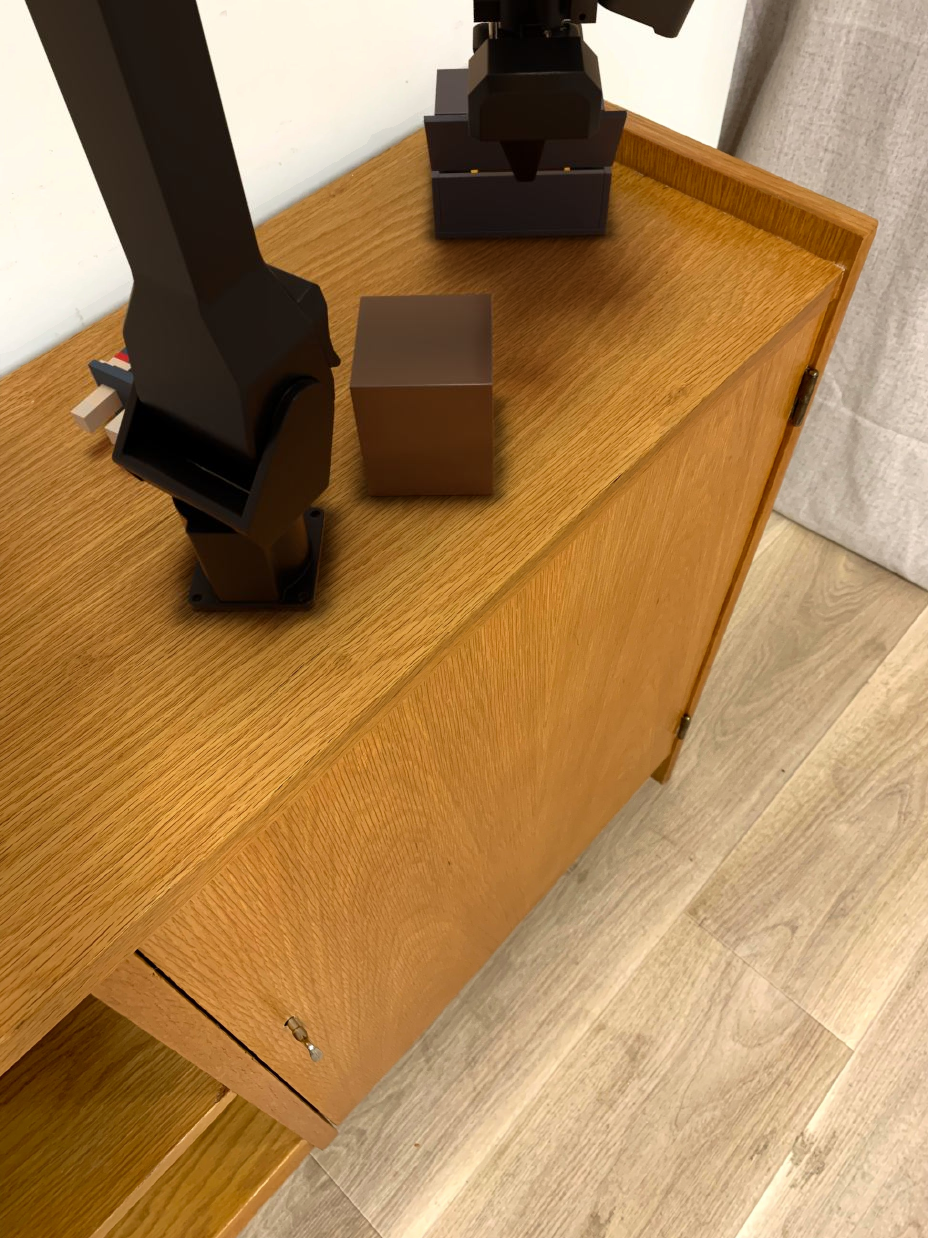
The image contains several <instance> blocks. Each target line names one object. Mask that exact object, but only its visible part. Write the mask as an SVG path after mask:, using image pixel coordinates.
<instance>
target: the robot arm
mask: <svg viewBox="0 0 928 1238" xmlns="http://www.w3.org/2000/svg"><path fill="white" fill-rule="evenodd" d="M695 1H696V0H472V9H473V10H472V12H473V13H472V15H473V24H475V25H474V26H473V27H472V53H473V55H472V56H471V57H469V59H468V66H467V67H468V124H469V136H470V137H472V138H474V139H476V140H478V141H480V142H490V141H499V142H500V144H501V147H502V149H503V151H504V153H505V156H506V158H507V160H508V163H509V165H510V167H511V170H512V172H513V174H514V176H515V179H516V180H517V181H518V182H532V181H534V180H535V178H536V175H537V171H538V168H539V164H540V161H541V157H542V154H543V150H544V147H545V143H546V140H566V139H589V138H590V137H592V136H594V135H595V134H597V133H599V126H600V115H601V104H602V93H603V94H604V92H603V85H602V79H601V77H602V76H601V70H600V64H599V57H598V55H597V54H596V52H594V50H593V49H592V48H591V47H590V46H589V45H588V44H587V42H586V41H585V40H584V31H583V25H586V24H587V25H589V24H596V23H597V17H598V6H601V7H602V8H604V9H605V10H607V11H610V12H611V13H613V14H616V15H618V16H622V17H623V18H627V19H630V20H632V21H634V22H637V23H639V24H642V25H644V26H646V27H649V28H652V29H653V33H654V34H655V35H658V36H659V37H662V38H666V39H675V38H678V37H679V34H680V32H681V30H682V28H683V26H684V24H685V22H686V19H687V17H688V15H689V13H690V10H692V7H693V4H694V2H695ZM24 2H25V5H26V8H27V10H28V12H29V16H30V18H31V20H32V23H33V25H34V28H35V30H36V33H37V35H38V39H39V41H40V43H41V45H42V48H43V50H44V53H45V55H46V58H47V62H48V63H49V66H50V68H51V71H52V74H53V75H54V76H53V77H54V78H55V81H56V83H57V86H58V89H59V91H60V94H61V96H62V98H63V101H64V103H65V106H66V109H67V111H68V114H69V116H70V119H71V121H72V124H73V126H74V129H75V132H76V134H77V137H78V139H79V141H80V145H81V147H82V149H83V152H84V154H85V157H86V159H87V161H88V165H89V167H90V170H91V172H92V175H93V178H94V179H95V182H96V184H97V187H98V190H99V193H100V194H101V198H102V200H103V203H104V206H105V207H106V210H107V213H108V215H109V218H110V220H111V223H112V225H113V228H114V230H115V233H116V235H117V238H118V240H119V243H120V245H121V248H122V250H123V253H124V255H125V258H126V261H127V263H128V265H129V268H130V271H131V272H130V273H131V276H132V280H133V282H132V286H131V289H130V290H131V291H130V294H129V298H128V301H127V306H126V311H125V314H124V318H123V322H122V337H123V341H124V347H126V350H127V354H128V358H129V362H130V366H131V370H132V374H133V378H134V379H133V383H132V386H131V390H130V393H129V397H128V400H127V404H126V407H125V411H124V414H123V418H122V421H121V425H120V428H119V432H118V436H117V439H116V443H115V444H114V446H113V449H112V452H111V461H112V463H114V464H115V465H117V466H118V467H119V468H120V469H122V470H123V471H124V472H126V473H127V474H128V475H130V476H132V477H133V479H136V480H138V481H140V482H142V483H143V482H145V483H147V484H148V485H150V486H152V487H154V488H156V489H157V490H159V491H161V492H163V493H165V494H167V495H168V496H170V497H171V500H172V502H173V506H174V508H175V510H176V512H177V514H178V517H179V518H180V521H181V523H182V525H183V528H184V531H185V534H186V536H187V538H188V540H189V542H190V544H191V547H192V549H193V551H194V553H195V555H196V560H195V565H194V570H193V573H192V578H191V581H190V587H189V592H188V596H187V602H188V604H189V606H190V607H191V609H192V610H194V611H253V610H254V611H267V610H268V611H269V610H273V611H274V610H275V611H277V610H279V611H280V610H284V611H285V610H308V609H310V608H312V607H313V606H314V605H315V602H316V595H317V588H318V581H319V573H320V565H321V559H322V549H323V542H324V533H325V525H326V515H325V511H324V509H323V508H321V507H318V506H312V505H313V504H314V503H315V502H316V501H317V500H318V499H319V498H320V497H321V495H322V494H324V492H326V490H327V489H328V488H329V486H330V479H331V477H330V475H331V463H332V453H333V452H332V450H333V439H334V427H335V425H334V424H335V413H336V412H335V410H336V409H335V408H336V406H335V404H336V388H335V378H334V374H333V370H332V368H337V367H339V366H340V365H341V363H342V360H341V358H340V356H339V355H338V353H337V351H335V349H334V346H333V343H332V340H331V339H332V338H331V335H330V326H329V307H328V303H327V300H326V299H325V295H324V293H323V291H322V289H321V286H320V285H319V284H318V283H316V282H313V281H310V279H309V280H308V279H306V278H303V277H301V276H298V275H296V274H294V273H291V272H289V271H287V270H285V269H282V268H280V267H277V266H275V265H272V264H270V263H267V262H266V261H265V259H264V257H263V254H262V253H261V250H260V247H259V242H258V239H257V235H256V230H255V227H254V224H253V223H254V222H253V218H252V215H251V211H250V208H249V203H248V199H247V195H246V191H245V188H244V184H243V179H242V175H241V172H240V168H239V164H238V159H237V156H236V152H235V148H234V144H233V140H232V136H231V132H230V128H229V124H228V120H227V115H226V112H225V108H224V104H223V101H222V96H221V91H220V88H219V84H218V81H217V77H216V72H215V69H214V65H213V61H212V57H211V53H210V48H209V44H208V41H207V38H206V33H205V29H204V24H203V21H202V17H201V13H200V9H199V6H198V1H197V0H24ZM315 516H316V517H315ZM304 598H307V599H306V600H303V599H304ZM199 599H200V600H199ZM197 600H199V601H197Z"/></svg>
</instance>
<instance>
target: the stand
mask: <svg viewBox="0 0 928 1238" xmlns="http://www.w3.org/2000/svg"><path fill="white" fill-rule="evenodd" d="M493 318H494V317H493V294H492V293H459V294H457V293H456V294H455V293H454V294H450V293H449V294H409V295H406V294H403V295H402V294H401V295H362V296H360V297H359V305H358V313H357V319H356V327H355V329H356V330H355V338H354V345H353V354H352V362H351V370H350V378H349V385H348V387H349V393H350V398H351V403H352V404H351V405H352V409H353V414H354V415H353V416H354V420H355V427H356V431H357V437H358V442H359V447H360V453H361V454H360V455H361V458H362V464H363V470H364V474H365V480H366V486H367V491H368V495H369V496H370V497H379V496H380V497H382V496H384V497H386V496H390V497H391V496H393V497H394V496H462V495H466V496H467V495H469V496H470V495H471V496H472V495H494V493H495V483H494V482H495V477H494V474H495V473H494V472H495V471H494V469H495V468H494V466H495V465H494V463H495V462H494V460H495V459H494V457H495V456H494V455H495V453H494V451H495V450H494V339H493V338H494V337H493V336H494V335H493V333H494V332H493V327H494V325H493V324H494V323H493V321H494V320H493Z"/></svg>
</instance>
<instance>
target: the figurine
mask: <svg viewBox="0 0 928 1238" xmlns="http://www.w3.org/2000/svg"><path fill="white" fill-rule="evenodd" d="M87 366H88V371H89V374H90V376H91V378H92V380H93V381H94V384H95V386H96V387H97V388H95V390H94V391H92V393H90V394H89V395H87V396H86V397H85V398H84V399H83V400H82V401H81V402H79V404H78V405H76V406H75V407H74V408H73V409H72V410H70V415H71V416H72V418H73V420H74V422H75V423H76V425H77V427H78V428H79V429H81V430H83V431H85V432H87V433H90V434H92V435H93V433H95V432H96V431H97V430H98V429H99V428H100V427H101V426H102V425H104V423H106V422H107V421H108V420H109V419H110V418H111V417H113V415H116V416H115V417H114V418H113V419H112V420H111V421H110V422H109V423H108V424H106V425H105V426H104V427H103V429H104V431H105V433H106V435H107V436H108V438H109V441H110V442H111V444H112V445H115V443H116V439H117V436H118V432H119V428H120V425H121V421H122V418H123V414H124V411H125V407H126V404H127V400H128V397H129V393H130V390H131V386H132V383H133V379H134V378H133V374H132V370H131V366H130V362H129V358H128V354H127V350H126V346H124V347H123V348H122V349H121V350H119V352H118V353H116V355H114V356H113V357H112V358H111V359H109V361H106V360H103V359H100V360H97V359H95V358H94V359H92V360H91V361H90V362H89V363H87Z"/></svg>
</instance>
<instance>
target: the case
mask: <svg viewBox="0 0 928 1238" xmlns="http://www.w3.org/2000/svg"><path fill="white" fill-rule="evenodd" d="M434 95H435V96H434V112H433V113H434V114H433V116H435V115H468V68H465V67H463V68H437V69H436V79H435V94H434ZM604 100H605V99H604V92H603V93H602V104H601V111H606V106H605V101H604ZM430 176H431V177H430V179H431V193H432V195H431V197H432V209H433V225H434V226H433V227H434V238H435V239H475V238H477V239H478V238H479V239H480V238H516V237H517V238H518V237H519V238H520V237H522V238H523V237H564V236H567V237H569V236H605V235H606V232H607V222H608V216H609V215H608V213H609V204H610V197H611V188H612V187H611V186H612V176H613V170H612V167H577V168H570V170H566V171H537V175H536V178H535V180H534V181H532V182H518V181H517V180H516V179H515V176H514V174H513V172H486V173H471V170H456V171H431V175H430Z"/></svg>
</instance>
